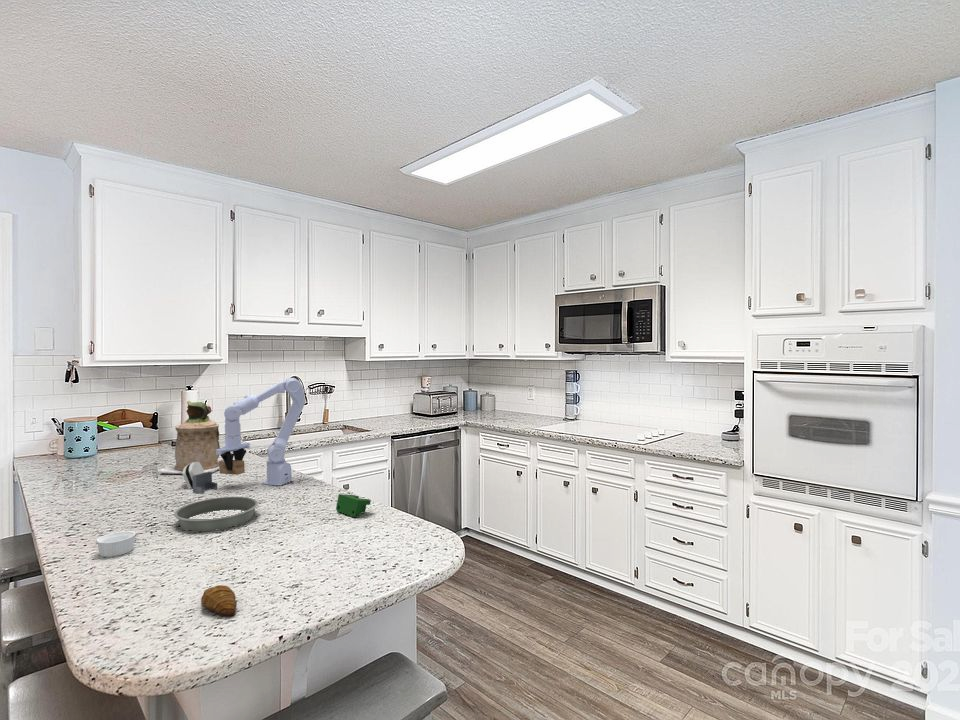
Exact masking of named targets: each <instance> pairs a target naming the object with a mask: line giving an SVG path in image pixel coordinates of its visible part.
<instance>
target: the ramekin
mask: <svg viewBox="0 0 960 720" xmlns="http://www.w3.org/2000/svg"><path fill="white" fill-rule="evenodd" d="M135 538H136V532H135V531H131V530H125V531H122V530H121V531H117V532H112V533H111V532H110V533H108V534H104V535H101V536H100V537H98V538H97V539H96V544H97V547H98V554H99V556H100V557H102V556H103V558H111V557H110V556H113V557H118V556H117V555H119V556H122V554H123V555H125V553H126V554H127V553H130V552H132V551H133V550H134V548H135ZM131 550H132V551H131Z"/></svg>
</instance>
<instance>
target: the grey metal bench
mask: <svg viewBox="0 0 960 720" xmlns="http://www.w3.org/2000/svg"><path fill="white" fill-rule="evenodd" d="M212 475H213V472H205V473H201V474H197V475H194V476H192V479H193V487H192V493H194V492H195V494H201V495H202V494H204V493H205V491H208V490H213V489H214V490H215V491H216V490H218V482H213V476H212ZM204 490H205V491H204Z"/></svg>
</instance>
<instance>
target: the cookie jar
mask: <svg viewBox="0 0 960 720" xmlns="http://www.w3.org/2000/svg"><path fill="white" fill-rule="evenodd" d="M186 403H187V406H186V407H187V410H186V414H187V416H188V418H187V419H186V420H185V421H183V422H182V423H181V424H178V425H175V431H176V433H177V434H176V440H175V450H174V461H175V465H170V466H166V467H162V468H159V469H157V472H158V473H159V475H160V474H161V473H162V474H174V475H175V474H177V475H178V474H181V475H183V474H182V473H183V469H184V467H185V466H187V465H188V464H191V463H193V462H200V464H201V466H202V468H203V470H204V472H212V473H215V472H217V471H219V461H221V460H222V459H219V458H220V455H217V454H216V450H217V449H220V448H221V446H220V441H219V439H220V431H219V427H220V425H219V424H218V423H216V421H214V420H211V419H210V416H209V414H211V413H212V407H211V406H210V405H207V404H206V403H205V402H202V401H198V402H197V401H196V402H195V401H193V402H192V401H190V400H187V401H186ZM162 474H161V475H162Z"/></svg>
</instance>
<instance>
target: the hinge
mask: <svg viewBox="0 0 960 720" xmlns="http://www.w3.org/2000/svg"><path fill="white" fill-rule="evenodd" d="M201 473H205V472H204V470H203V468H202V466H201V464H200V462H193V463H191V464H188V465H187V466H185V467H184V469H183V473H182V474H181V475H182V477H183V478H184V482H185V484H186V487H187V489H188V490H192V489H193V479H192V476H194V475H197V474H201Z"/></svg>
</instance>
